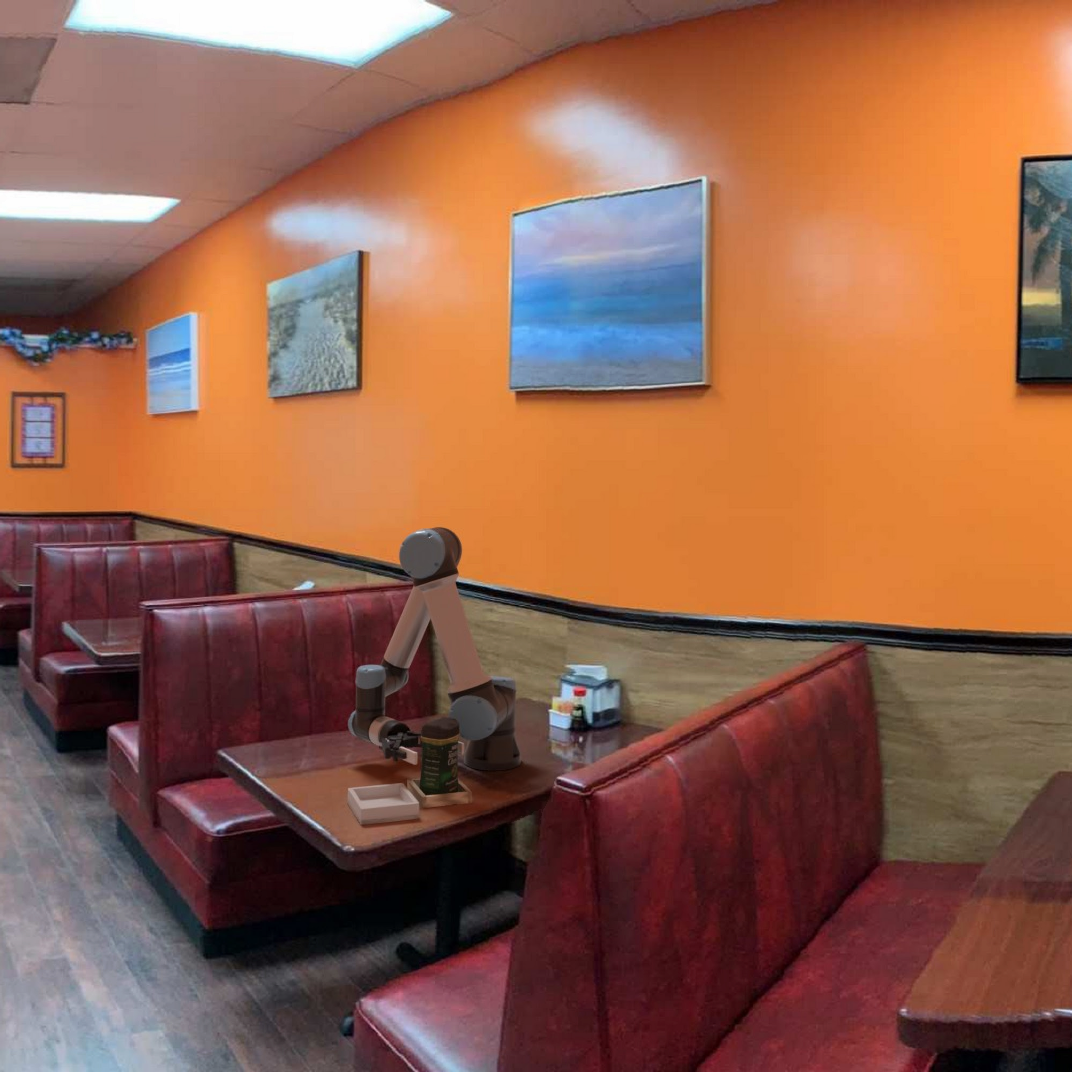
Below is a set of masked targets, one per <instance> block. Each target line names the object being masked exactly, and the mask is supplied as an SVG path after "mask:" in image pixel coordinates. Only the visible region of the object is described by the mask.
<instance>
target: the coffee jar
mask: <svg viewBox="0 0 1072 1072" xmlns="http://www.w3.org/2000/svg"><path fill="white" fill-rule="evenodd" d="M459 727H460V726H459V722H458V721H457V720H456V719H454V718H449V716H448V717H447V716H441V717H439V718H437V719H433V720H431V721H428V722H426V723H424V724H422V725H421V730H420V733H421V741H422V748H421V759H420V761H421V762H420V776H419V778H420V786H419V789H420V790H421V791H422V792H423V793H424V794H425V796H427V795H437V794H447V793H457V792H458V779H459V773H458V772H459V771H458V770H459V769H458V767H459V766H458V763H459V762H458V758H459V757H458V755H459V754H458V741H459V742H460V740H459V739H460V736H459V735H460V731H459Z"/></svg>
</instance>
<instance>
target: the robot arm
mask: <svg viewBox="0 0 1072 1072" xmlns="http://www.w3.org/2000/svg"><path fill="white" fill-rule="evenodd" d="M462 555H463V545H462V542H461V540H460V538H459V537H458V535H457V534H456V533H455V532H454V531H452V530H451V529H449V528H446V527H442V526H438V527H437V526H436V527H432V528H431V527H430V528H422V529H418V530H416V531H414V532H412V533H410V534H408V535H407V536H406V537H405V538H404V540H403V541H402V542H401V545H400V547H399V551H398V559H399V563H400V566H401V567H402V569H403V571H404V572H405V573H406V574H407V575H408V576H410V577H411V579H412V583H413V587H412V589H411V592H410V593H409V596H408V597H407V598H408V599H407V601H406V603H405V605H404V608H403V611H402V613H401V615H400V617H399V619H398V622H397V624H396V627H395V629H394V632H393V635H392V637H391V639H390V641H389V642H388V646H387V648H386V650H385V652H384V655H383V658H382V661H381V662H380V664H365V665H360V666H359V667H357V669H356V674H355V675H356V676H355V682H354V683H355V710H354V711H352V713H351V714H350V717H349V718H348V720H347V726H348V731H349V732H350V733H351V734H352V735H353V736H355V737H356V738H358V739H359V740H362V741H364V742H365V741H366V742H368V743H370V744H374V745H376V746H377V747H378V749H379V750H381V752H382V754H383V756H384V759H386V760H389V759H390V758H391V757H392V762H398V761H399V759H400V760H402V761H405V762H406V763H409V764H412V765H413V766H415V765H418V752H417V751H414V750H412V748H421V749H422V741H421V732H417V731H413V730H411V728H410V727H409V726H408V725H407V724H406V723H404V722H402V721H399V720H396V719H394V718H391V717H389V716H385V714H386V697H387V696H389V695H391V694H393V693H396V692H398V691H399V690H401V689H403V688H404V686H405V685H406V684H407V683H408V681H409V679H410V678H409V675H410V674H409V669H410V666H411V664H412V663H413V660H414V658H415V655H416V653H417V651H418V648H419V646H420V644H421V641H422V639H423V637H424V634H425V632H426V629H427V627H428V625H429V623H430V621H431V624H432V627H433V631H434V633H435V636H436V637H435V638H436V639H437V643H438V646H439V650H440V652H441V657H442V661H443V663H444V666H445V670H446V673H447V675H448V678H449V682H450V685H449V687H448V689H447V691H446V693H447V696H448V700H449V703H450V708H449V711H448V718H454V719H456V720H457V721H458V722H459V726H460V727H459V731H460V735H459V737H461V738H463V739H465V740H466V741H468V742H467V745H466V747H465V743H464V742H461V741H460V740H459V741H458V755H461V756H463V764H464V765H465V766H467V767H469V768H471V769H475V770H483V771H504V770H511V769H514V768H517V767H519V766H520V765H521V763H522V754H521V751H520V747H519V743H518V740H517V737H516V703H517V701H516V699H517V683H516V680H515V679H513V678H512V677H509V676H508V677H507V676H500V675H499V676H497V675H487V674H486V673H484V671H483V669H482V665H481V661H480V658H479V654H478V652H477V648H476V646H475V642H474V638H473V636H472V632H471V629H470V627H469V623H468V620H467V616H466V613H465V610H464V607H463V604H462V600H461V597H460V594H459V590H458V588H457V584H456V582H457V579H458V578H459V575H460V573H459V570H458V566H459V565H460V562H461V559H462ZM419 740H420V741H419ZM419 742H420V743H419Z"/></svg>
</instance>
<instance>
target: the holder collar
mask: <svg viewBox="0 0 1072 1072" xmlns="http://www.w3.org/2000/svg"><path fill="white" fill-rule="evenodd" d="M406 783H407V784H406V788H407V789H408V790H409V791H410V792H411V794H412V795H413V796H414V797H415V799H416V800H417V801H418V802H419V804H420V805H419V807H421V808H422V809H425V808H426V809H428V808H434V807H436V808H437V807H445V806H446V805H447V806H451V805H450V804H457V805H464V804H472V803H473V791H471V789H470V788H469V787H468V786H466V784H464V782H463V781H462V780H461V779H460V778H458V792H457V793H447V794H437V795H427V796H425V794H424V793H423V792H422V791H421V790H420V789H419V786H420V777H418V778H417V777H416V778H408V779H406Z"/></svg>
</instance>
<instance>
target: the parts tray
mask: <svg viewBox="0 0 1072 1072" xmlns="http://www.w3.org/2000/svg"><path fill="white" fill-rule="evenodd" d="M347 804H348V807H349V808H350V809H351V811H352V812H353V814H354V816H355V818H356V817H357V818H356V819H357V820H358V823H359V822H360V823H359V824H360V825H361V826H362V825H371V824H382V823H383V824H384V823H389V822H392V823H393V822H399V821H400V822H401V821H409V820H418V819H420V805H419V802H418V801H417V800H416V799H415V797H414V796H413V795H412V794H411V792H410V791H409V790H408V789H407V785H405V784H404V783H403V782H401V783H400V782H399V783H398V782H397V783H389V784H377V785H368V786H366V785H365V786H358V787H357V786H355V787H348V788H347Z"/></svg>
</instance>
